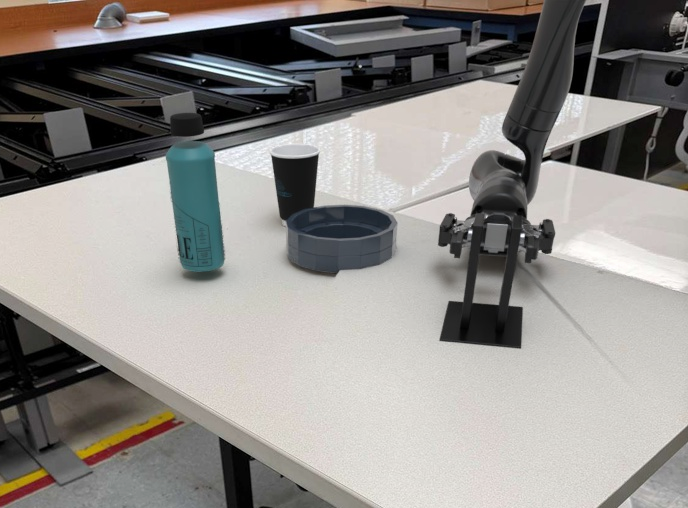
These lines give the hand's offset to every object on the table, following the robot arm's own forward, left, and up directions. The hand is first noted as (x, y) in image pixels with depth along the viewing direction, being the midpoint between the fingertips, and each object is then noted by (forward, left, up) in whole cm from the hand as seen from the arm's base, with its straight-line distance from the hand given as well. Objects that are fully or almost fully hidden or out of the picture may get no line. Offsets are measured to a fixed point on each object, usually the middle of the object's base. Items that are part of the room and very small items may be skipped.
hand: (493, 252), depth 87 cm
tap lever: (+2, +4, +1) cm, 5 cm away
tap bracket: (+3, +8, -6) cm, 11 cm away
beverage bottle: (+36, -15, -7) cm, 39 cm away
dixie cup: (+21, -35, -7) cm, 41 cm away
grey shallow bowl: (+16, -19, -6) cm, 26 cm away
